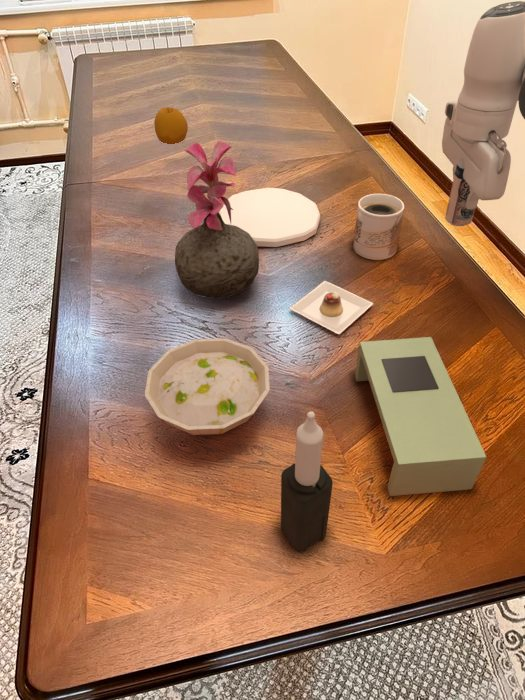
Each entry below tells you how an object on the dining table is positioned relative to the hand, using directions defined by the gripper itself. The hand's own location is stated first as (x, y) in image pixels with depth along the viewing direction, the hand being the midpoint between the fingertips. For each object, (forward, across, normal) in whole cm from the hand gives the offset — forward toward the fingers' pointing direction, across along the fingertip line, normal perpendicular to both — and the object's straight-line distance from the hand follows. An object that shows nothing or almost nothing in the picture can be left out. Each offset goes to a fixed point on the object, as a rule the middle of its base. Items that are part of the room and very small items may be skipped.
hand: (463, 198), depth 96 cm
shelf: (+21, -34, +17) cm, 43 cm away
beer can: (+5, 0, 0) cm, 5 cm away
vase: (+20, +6, +46) cm, 50 cm away
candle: (+20, -50, +36) cm, 65 cm away
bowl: (+20, -29, +48) cm, 59 cm away
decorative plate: (+20, +32, +32) cm, 50 cm away
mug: (+21, +18, +10) cm, 29 cm away
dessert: (+20, -4, +24) cm, 31 cm away
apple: (+20, +79, +58) cm, 100 cm away
